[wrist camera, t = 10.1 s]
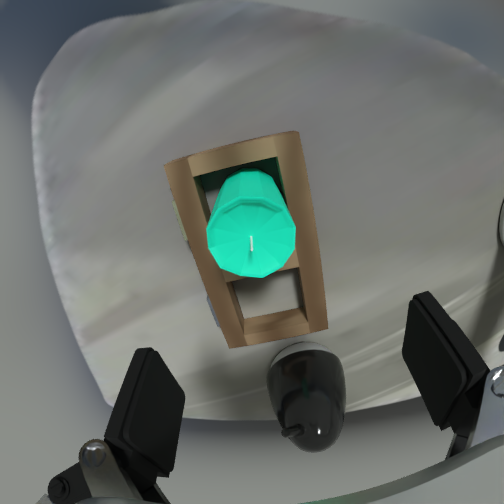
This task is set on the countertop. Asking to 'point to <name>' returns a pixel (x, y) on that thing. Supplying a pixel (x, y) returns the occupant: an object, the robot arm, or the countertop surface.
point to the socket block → (220, 281)
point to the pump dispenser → (308, 395)
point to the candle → (250, 225)
